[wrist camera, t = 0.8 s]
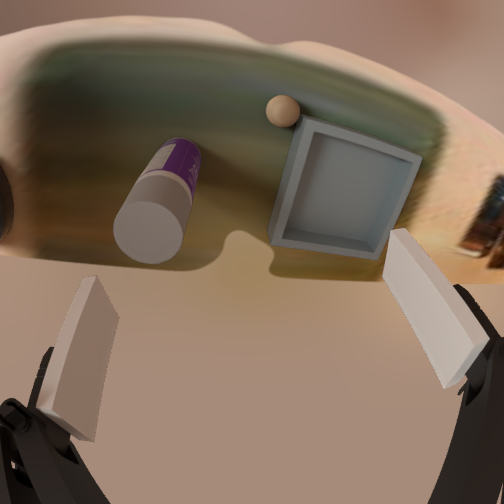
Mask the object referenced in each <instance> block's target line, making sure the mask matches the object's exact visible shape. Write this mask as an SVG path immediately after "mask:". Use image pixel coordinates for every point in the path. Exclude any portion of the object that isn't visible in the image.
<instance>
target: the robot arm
mask: <svg viewBox="0 0 504 504" xmlns="http://www.w3.org/2000/svg"><path fill="white" fill-rule="evenodd" d="M12 220H13V200H12V194H11V190H10V187H9V184H8V181H7V178H6V176H5V174H4V172H3V170H2V168H1V167H0V241H1V240H2V239H3V238H4V237H5V236H6V234H7V233H8V232H9V230H10V227H11V224H12ZM382 278H383V279H384V281H385V283H386V284H387V286H388V287H389V289H390V291H391V292H392V294H393V296H394V297H395V299H396V301H397V302H398V304H399V306H400V308H401V309H402V311H403V313H404V314H405V316H406V318H407V320H408V321H409V323H410V325H411V327H412V329H413V330H414V332H415V334H416V336H417V338H418V340H419V341H420V343H421V345H422V347H423V348H424V351H425V353H426V355H427V356H428V358H429V360H430V362H431V364H432V366H433V368H434V370H435V372H436V374H437V376H438V378H439V380H440V382H441V384H442V386H443V389H445V388H448V387H450V386H452V385H454V384H457V383H458V382H459V381H460V380H461V379H462V378H463V376H464V375H466V377H467V378H468V380H467V382H466V383H465V384H464V385H463V387H462V388H461V389H460V390H459V392H458V395H460V394H461V393H462V392H463V391H464V393H463V398H462V402H461V407H460V411H459V415H458V419H457V423H456V426H455V430H454V433H453V437H452V440H451V443H450V446H449V450H448V453H447V456H446V458H445V461H444V464H443V467H442V470H441V472H440V475H439V478H438V480H437V483H436V485H435V488H434V490H433V492H432V495H431V497H430V499H429V501H428V504H496V503H497V500H498V497H499V494H500V491H501V487H502V484H503V489H502V497H501V504H504V337H501V336H500V335H499V334H498V332H497V331H496V329H495V328H494V326H493V325H492V323H491V322H490V321H489V319H488V318H487V316H486V315H485V313H484V312H483V311H482V310H481V309H480V306H479V305H478V304H477V302H475V300H474V298H473V297H472V296H471V294H470V293H469V292H468V291H467V290H466V289H465V288H463V287H462V286H460V285H459V284H456V285H453V286H452V284H451V283H450V282H449V280H448V279H447V278H446V277H445V275H444V274H443V273H442V271H441V270H440V269H439V268H438V266H437V265H436V264H435V263H434V261H433V260H432V259H431V258H430V257H429V255H428V254H427V253H426V252H425V251H424V249H423V248H422V247H421V246H420V245H419V244H418V242H417V241H416V240H415V239H414V238H413V237H412V236H411V234H410V233H409V232H408V231H407V230H406V229H405V228H401V229H394V230H391V231H390V238H389V244H388V249H387V255H386V260H385V266H384V271H383V276H382ZM118 321H119V316H118V314H117V312H116V311H115V309H114V307H113V305H112V303H111V302H110V300H109V298H108V296H107V294H106V292H105V290H104V288H103V286H102V285H101V283H100V281H99V279H98V277H97V275H96V276H88V277H83V279H82V281H81V283H80V285H79V288H78V290H77V292H76V294H75V297H74V299H73V301H72V304H71V306H70V308H69V311H68V313H67V316H66V318H65V321H64V323H63V326H62V329H61V331H60V334H59V336H58V339H57V341H56V344H55V347H50V348H49V349H48V351H47V352H46V353H45V355H44V356H43V358H42V361H41V364H40V369H39V370H38V373H37V378H36V379H35V382H34V385H33V389H32V392H31V395H30V399H29V402H28V406H27V408H26V407H24V405H22V404H21V403H20V402H19V401H18V400H16V399H14V398H9V399H7V400H5V401H4V402H3V403H2V404H1V406H0V504H110V502H109V501H108V499H107V498H106V497H105V495H104V494H103V492H102V491H101V489H100V488H99V486H98V485H97V483H96V482H95V480H94V478H93V477H92V475H91V474H90V472H89V470H88V469H87V467H86V465H85V464H84V462H83V460H82V459H81V457H80V455H79V453H78V451H77V450H76V448H75V446H74V444H73V443H72V442H71V441H70V435H72V436H74V437H75V438H77V439H78V440H83V441H90V442H94V441H95V434H96V427H97V420H98V414H99V409H100V403H101V397H102V392H103V387H104V381H105V377H106V372H107V367H108V363H109V358H110V354H111V349H112V345H113V341H114V337H115V333H116V329H117V325H118ZM11 461H12V462H14V463H15V469H14V468H12V464H11Z"/></svg>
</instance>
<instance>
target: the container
mask: <svg viewBox="0 0 504 504" xmlns="http://www.w3.org/2000/svg"><path fill="white" fill-rule="evenodd" d="M200 165H201V152H200V150H199V148H198V146H197V145H196V144H195V143H194V142H193V141H191V140H189V139H187V138H182V137H176V138H172V139H170V140H168V141H166V142H165V143H164V144H163V145H162V146H161V147H160V149H159V150H158V151H157V153H156V154H155V155H154V157H153V158H152V160H151V161H150V162H149V164H148V165H147V167H146V168H145V169H144V171H143V172H142V174H141V175H140V177H139V178H138V180H137V181H136V183H135V184H134V186H133V188H132V189H131V191H130V193H129V195H128V196H127V198H126V200H125V202H124V203H123V205H122V207H121V209H120V211H119V212H118V214H117V216H116V218H115V221H114V225H113V233H114V238H115V240H116V243H117V245H118V246H119V248H120V249H121V250H122V251H123V252H124V253H125V254H126V255H127V256H129V257H130V258H132V259H134V260H136V261H138V262H141V263H146V264H157V263H162V262H165V261H167V260H169V259H171V258H172V257H174V256H175V255H176V254H177V252H178V251H179V249H180V248H181V245H182V242H183V238H184V233H185V230H186V226H187V222H188V218H189V214H190V210H191V207H192V202H193V197H194V192H195V188H196V183H197V179H198V174H199V170H200Z"/></svg>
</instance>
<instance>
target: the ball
mask: <svg viewBox="0 0 504 504" xmlns="http://www.w3.org/2000/svg"><path fill="white" fill-rule="evenodd" d="M266 115H267V118H268V120H269V121H270V122H271V123H272V124H274V125H275V126H278V127H289V126H291V125H293V124H294V123H295V122H296V121H297V120H298V118H299V115H300V108H299V105H298V103H297V102H296V101H295V100H294V99H293V98H292V97H290V96H286V95H278V96H275V97H273V98H272V99H271V100H270V101H269V102H268V104H267V106H266Z"/></svg>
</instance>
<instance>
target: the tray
mask: <svg viewBox="0 0 504 504" xmlns="http://www.w3.org/2000/svg"><path fill="white" fill-rule="evenodd" d="M422 159H423V157H421V156H420V155H418V154H416V153H415V152H413V151H411V150H410V149H408V148H405V147H403V146H400V145H398V144H395V143H392V142H390V141H387V140H384V139H381V138H379V137H376V136H373V135H370V134H367V133H364V132H361V131H358V130H355V129H352V128H349V127H346V126H342V125H339V124H336V123H332V122H329V121H326V120H322V119H318V118H315V117H311V116H307V115H303V114H300V115H299V118H298V120H297V123H296V127H295V131H294V134H293V138H292V142H291V145H290V149H289V153H288V156H287V160H286V163H285V167H284V171H283V174H282V178H281V182H280V185H279V189H278V192H277V196H276V200H275V203H274V207H273V210H272V214H271V218H270V221H269V225H268V228H267V233H268V237H269V241H270V245H274V246H281V247H288V248H295V249H302V250H309V251H316V252H323V253H330V254H337V255H344V256H350V257H357V258H364V259H371V260H378V258H379V256H380V254H381V252H382V250H383V248H384V246H385V244H386V242H387V240H388V238H389V236H390V231H391V230H393V227H394V225H395V223H396V221H397V219H398V217H399V214H400V212H401V210H402V208H403V205H404V203H405V201H406V198H407V196H408V194H409V191H410V189H411V186H412V184H413V182H414V179H415V177H416V174H417V172H418V169H419V166H420V164H421V161H422Z"/></svg>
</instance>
